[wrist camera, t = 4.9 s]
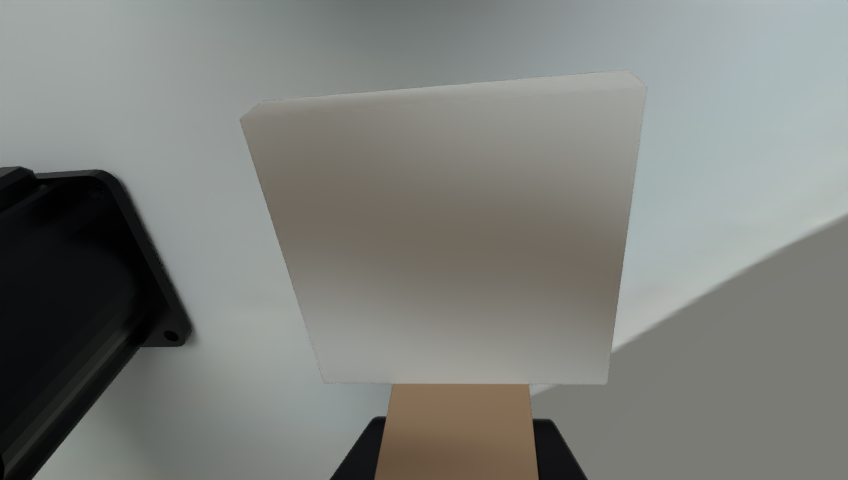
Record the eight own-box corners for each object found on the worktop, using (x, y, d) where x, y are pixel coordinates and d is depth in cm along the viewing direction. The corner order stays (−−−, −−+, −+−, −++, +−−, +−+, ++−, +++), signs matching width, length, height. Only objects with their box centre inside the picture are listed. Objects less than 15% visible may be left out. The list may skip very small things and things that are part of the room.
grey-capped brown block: (580, 500, 11) (620, 736, 8) (375, 493, 12) (335, 706, 9) (629, 69, 6) (805, 233, 3) (263, 101, 7) (54, 260, 4)
